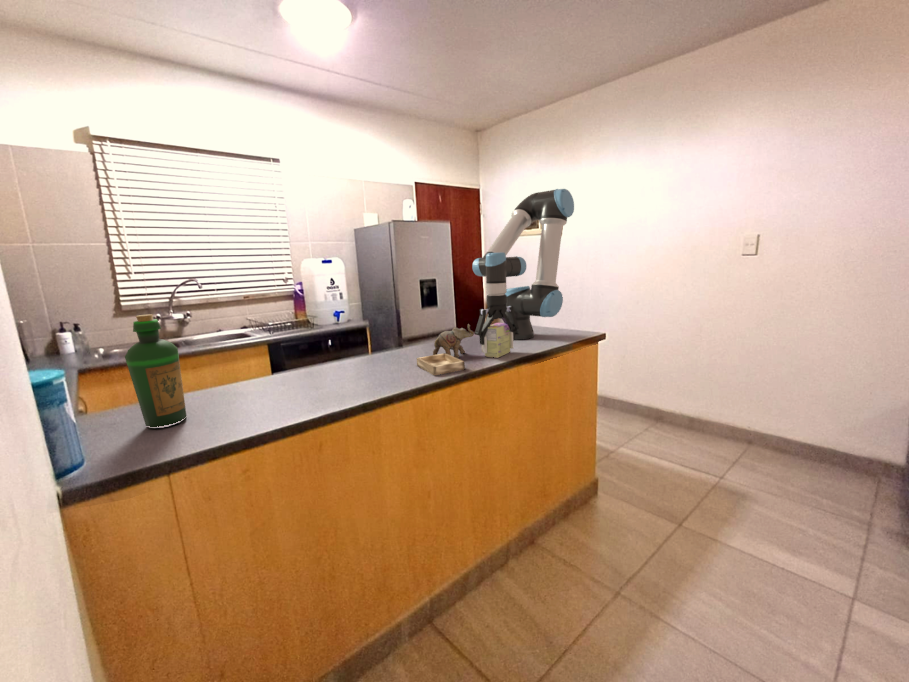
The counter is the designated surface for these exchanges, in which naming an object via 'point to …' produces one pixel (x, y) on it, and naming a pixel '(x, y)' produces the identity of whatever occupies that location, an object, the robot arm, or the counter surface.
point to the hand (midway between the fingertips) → (497, 350)
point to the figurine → (452, 341)
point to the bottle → (156, 374)
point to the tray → (440, 364)
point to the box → (498, 340)
